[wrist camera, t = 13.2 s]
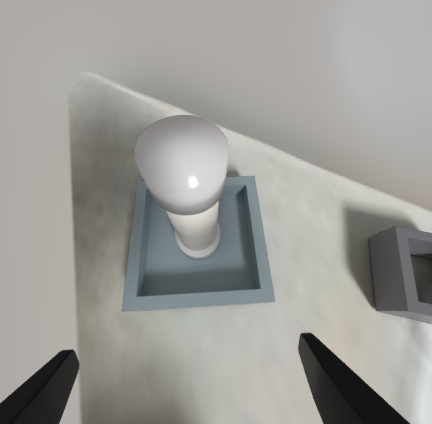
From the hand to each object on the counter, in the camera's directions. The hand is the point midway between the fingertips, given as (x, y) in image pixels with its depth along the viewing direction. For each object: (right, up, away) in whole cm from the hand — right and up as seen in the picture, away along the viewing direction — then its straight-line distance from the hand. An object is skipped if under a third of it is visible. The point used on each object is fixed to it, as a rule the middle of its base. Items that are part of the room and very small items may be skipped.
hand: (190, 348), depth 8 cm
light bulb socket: (+20, -1, +12) cm, 23 cm away
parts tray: (-1, +2, +13) cm, 13 cm away
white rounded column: (-1, +3, +12) cm, 13 cm away
